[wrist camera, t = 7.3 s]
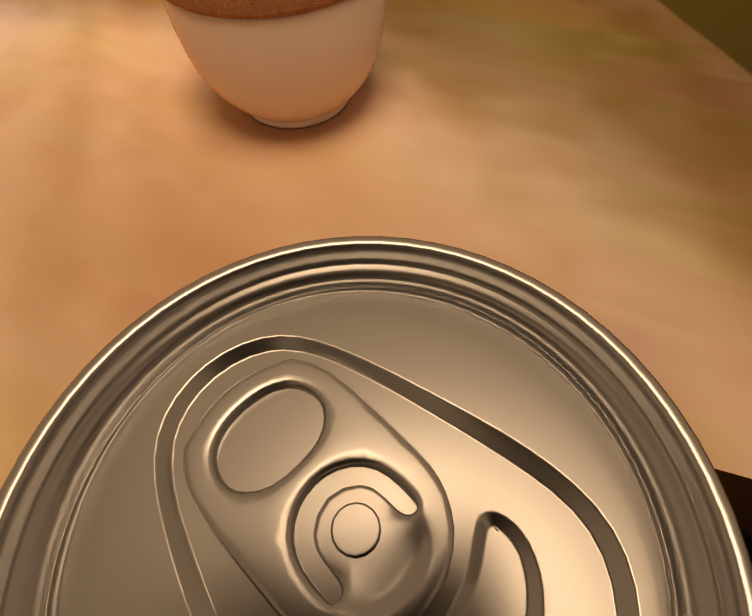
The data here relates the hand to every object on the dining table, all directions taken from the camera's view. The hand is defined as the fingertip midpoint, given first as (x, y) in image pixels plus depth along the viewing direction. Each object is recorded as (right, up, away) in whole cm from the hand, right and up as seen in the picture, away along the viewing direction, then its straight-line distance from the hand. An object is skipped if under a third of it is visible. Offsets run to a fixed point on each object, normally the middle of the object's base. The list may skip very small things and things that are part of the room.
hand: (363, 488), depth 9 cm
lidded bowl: (-5, +18, +23) cm, 30 cm away
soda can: (+1, -5, +5) cm, 7 cm away
